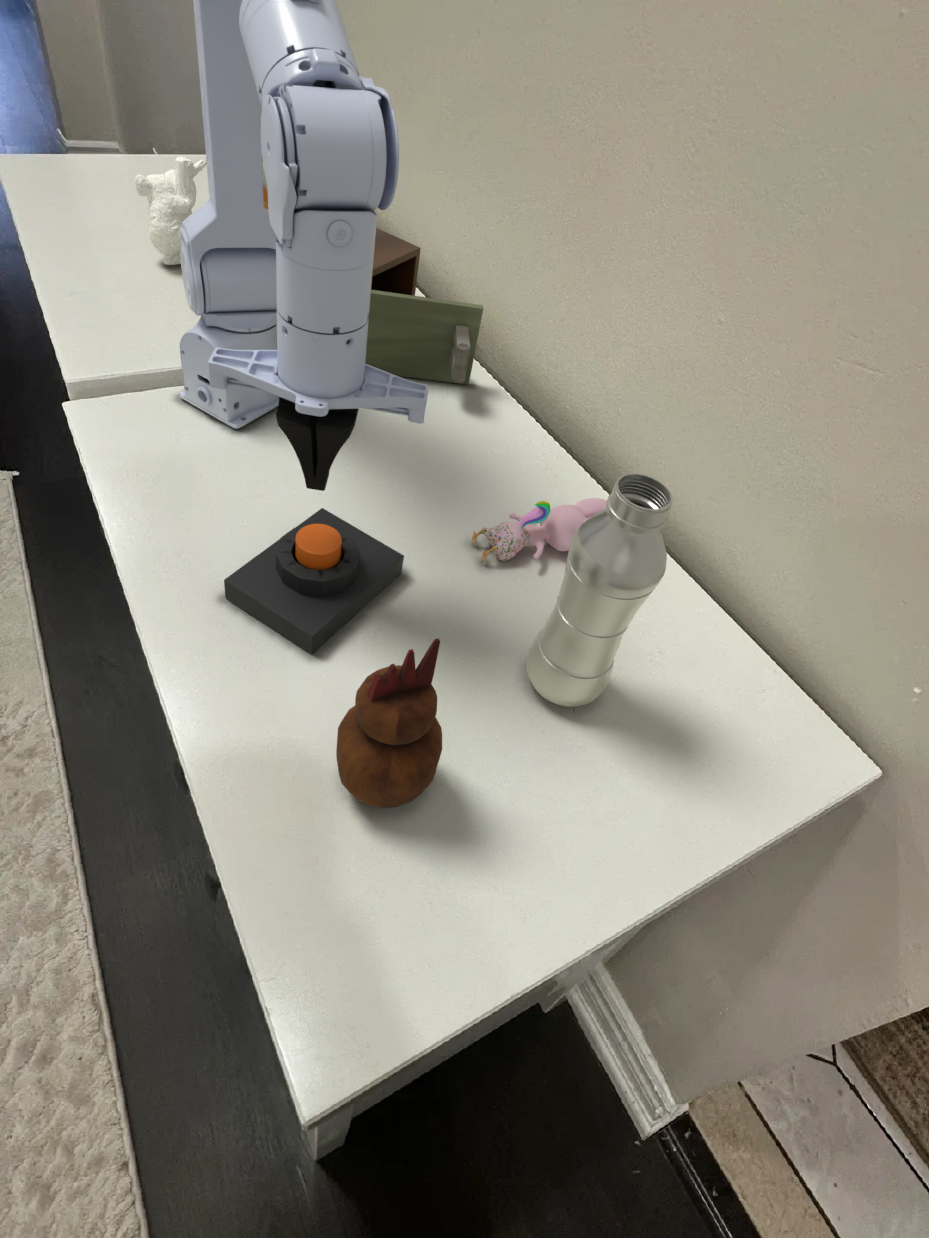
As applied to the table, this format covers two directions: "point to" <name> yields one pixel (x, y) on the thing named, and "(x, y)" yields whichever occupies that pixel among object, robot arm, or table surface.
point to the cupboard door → (422, 336)
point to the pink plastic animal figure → (539, 528)
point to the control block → (313, 584)
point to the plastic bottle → (601, 591)
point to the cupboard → (394, 264)
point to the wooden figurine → (392, 734)
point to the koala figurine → (169, 205)
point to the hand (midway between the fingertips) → (317, 481)
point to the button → (318, 546)
